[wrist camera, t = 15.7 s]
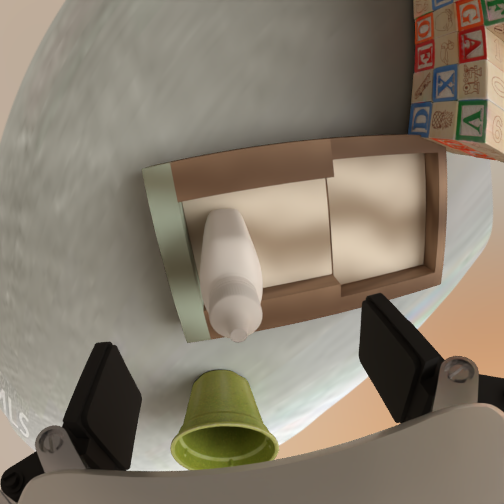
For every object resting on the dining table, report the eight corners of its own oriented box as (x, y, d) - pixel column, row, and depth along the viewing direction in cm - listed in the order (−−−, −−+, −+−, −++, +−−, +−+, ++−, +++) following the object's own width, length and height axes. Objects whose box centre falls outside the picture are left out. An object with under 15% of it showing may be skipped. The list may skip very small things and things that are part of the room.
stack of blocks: (453, 155, 23) (555, 177, 12) (405, 137, 22) (518, 148, 11) (454, -16, 16) (528, -43, 5) (409, -43, 15) (481, -86, 4)
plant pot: (188, 419, 31) (186, 479, 23) (166, 361, 28) (156, 428, 20) (267, 409, 32) (280, 470, 24) (260, 350, 29) (276, 416, 21)
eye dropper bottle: (267, 222, 23) (318, 297, 12) (236, 284, 25) (254, 392, 13) (215, 198, 22) (217, 256, 11) (185, 263, 24) (166, 365, 12)
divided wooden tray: (150, 166, 22) (141, 169, 19) (424, 134, 23) (444, 135, 20) (189, 323, 27) (187, 343, 24) (424, 272, 28) (440, 284, 25)
